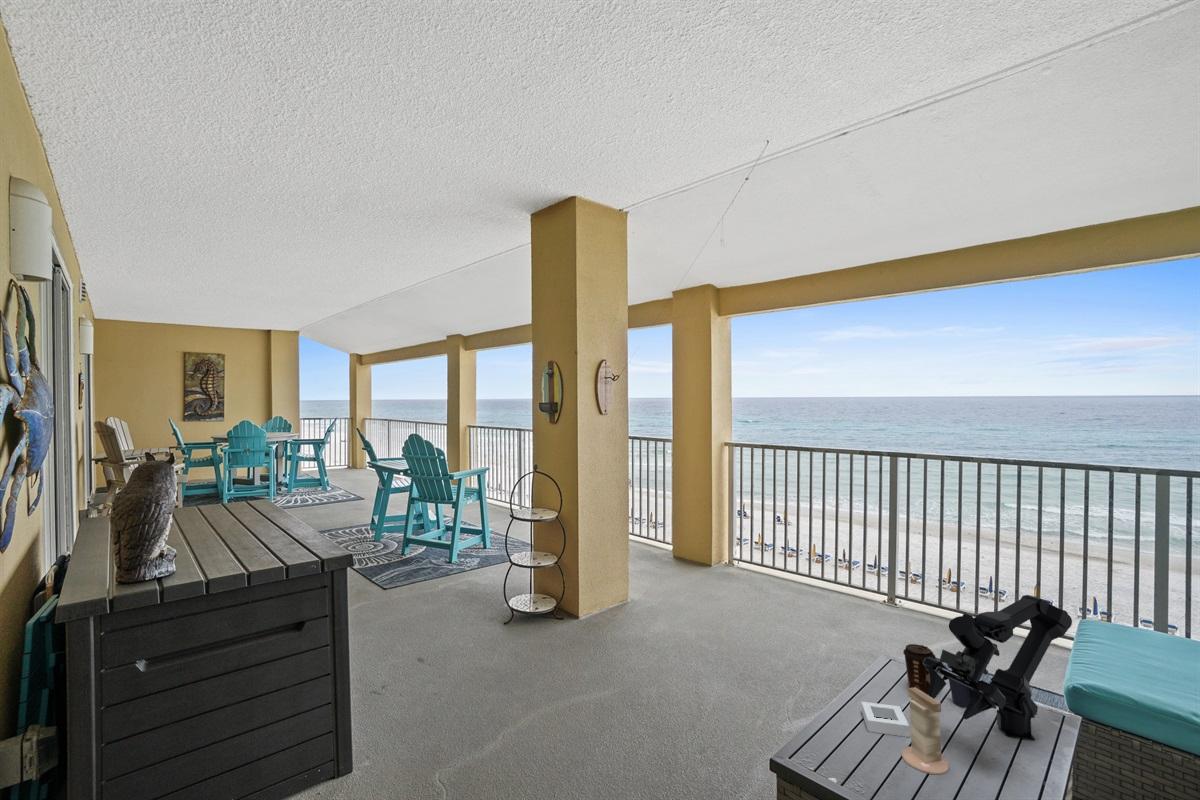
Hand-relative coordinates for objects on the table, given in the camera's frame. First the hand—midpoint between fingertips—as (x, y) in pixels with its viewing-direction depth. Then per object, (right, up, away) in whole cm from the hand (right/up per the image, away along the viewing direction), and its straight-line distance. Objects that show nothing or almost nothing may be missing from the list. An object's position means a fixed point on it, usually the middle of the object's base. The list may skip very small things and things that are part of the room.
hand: (946, 708), depth 135 cm
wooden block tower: (-6, -11, -2) cm, 13 cm away
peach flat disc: (-7, -11, -3) cm, 14 cm away
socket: (-9, -12, +13) cm, 20 cm away
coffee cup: (+12, -12, +31) cm, 35 cm away
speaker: (+20, -12, +22) cm, 32 cm away
